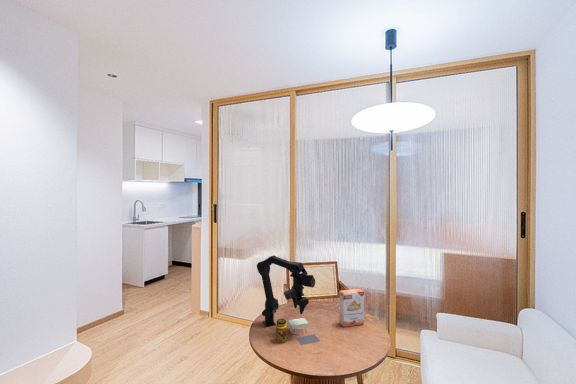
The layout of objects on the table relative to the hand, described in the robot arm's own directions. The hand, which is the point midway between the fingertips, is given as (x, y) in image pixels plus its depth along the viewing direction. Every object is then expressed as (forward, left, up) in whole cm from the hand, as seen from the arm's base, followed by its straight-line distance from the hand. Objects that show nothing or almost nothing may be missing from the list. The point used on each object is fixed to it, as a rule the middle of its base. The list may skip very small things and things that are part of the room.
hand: (298, 311), depth 168 cm
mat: (+11, +1, -12) cm, 17 cm away
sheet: (0, 0, -8) cm, 8 cm away
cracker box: (+3, +35, -13) cm, 37 cm away
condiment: (+6, -13, -13) cm, 19 cm away
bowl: (0, 0, -12) cm, 12 cm away
